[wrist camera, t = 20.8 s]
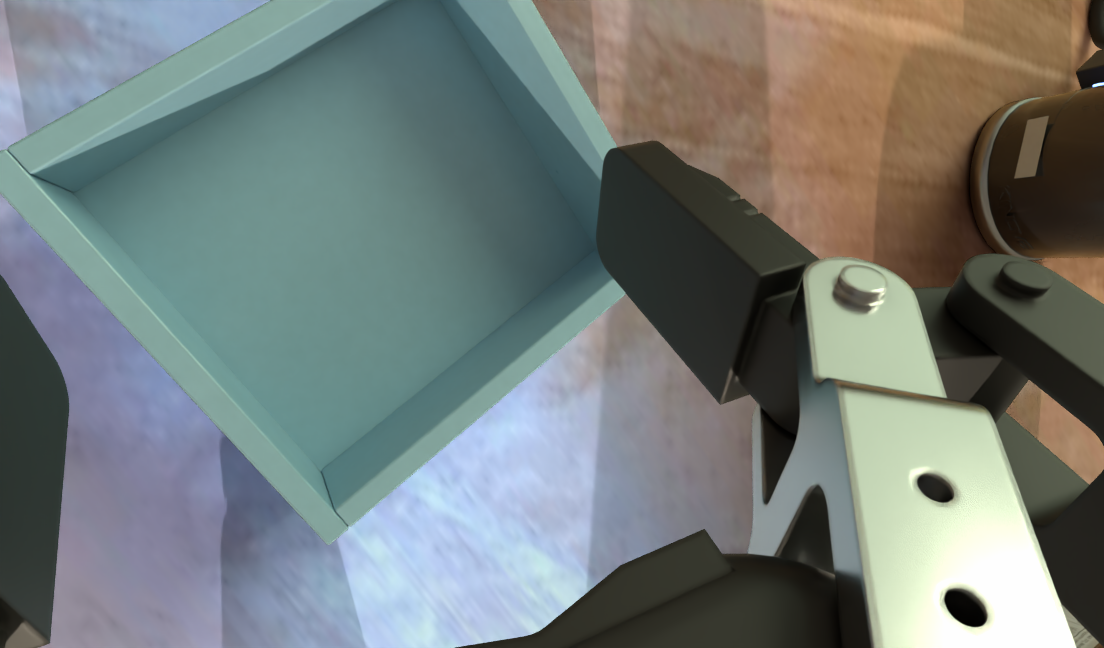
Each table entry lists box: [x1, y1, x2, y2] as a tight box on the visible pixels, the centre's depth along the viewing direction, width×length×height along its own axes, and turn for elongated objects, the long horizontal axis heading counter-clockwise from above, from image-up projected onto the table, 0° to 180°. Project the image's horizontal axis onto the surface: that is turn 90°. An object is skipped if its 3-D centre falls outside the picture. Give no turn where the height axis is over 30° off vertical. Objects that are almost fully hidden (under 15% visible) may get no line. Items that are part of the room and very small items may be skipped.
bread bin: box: [0, 0, 626, 545], centre depth 23 cm, size 16×14×5 cm
